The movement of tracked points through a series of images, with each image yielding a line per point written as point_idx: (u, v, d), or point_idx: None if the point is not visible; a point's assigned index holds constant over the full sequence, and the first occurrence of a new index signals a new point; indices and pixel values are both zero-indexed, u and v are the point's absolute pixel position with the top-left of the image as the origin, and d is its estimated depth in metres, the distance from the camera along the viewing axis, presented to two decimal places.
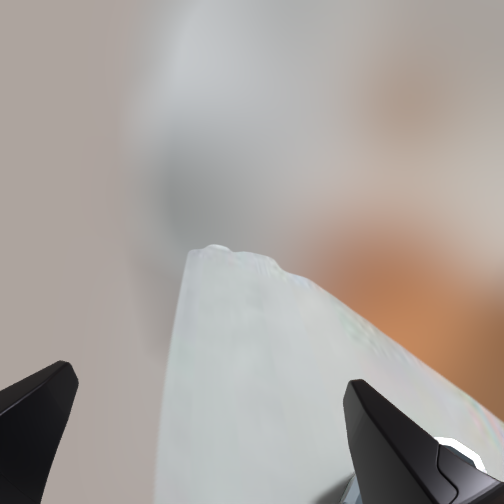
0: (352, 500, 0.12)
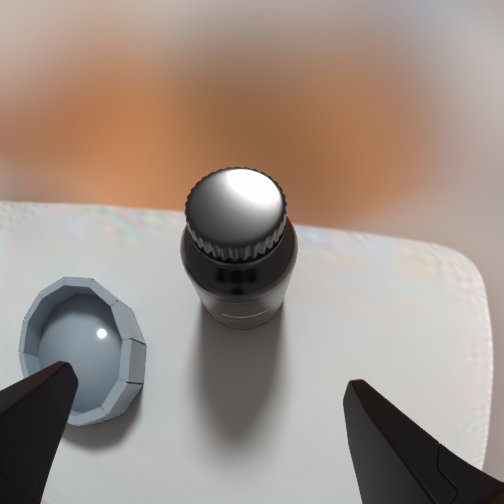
0: None
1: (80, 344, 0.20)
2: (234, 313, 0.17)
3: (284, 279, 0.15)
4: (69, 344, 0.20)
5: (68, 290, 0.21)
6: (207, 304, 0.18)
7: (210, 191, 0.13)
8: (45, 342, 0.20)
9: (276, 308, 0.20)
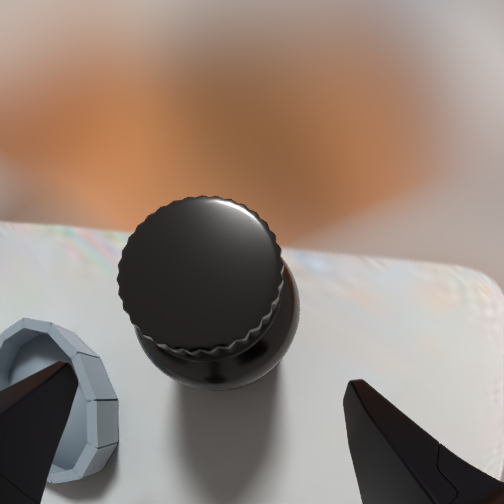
0: None
1: None
2: None
3: (279, 360, 0.10)
4: None
5: (30, 332, 0.16)
6: None
7: (156, 242, 0.08)
8: None
9: None
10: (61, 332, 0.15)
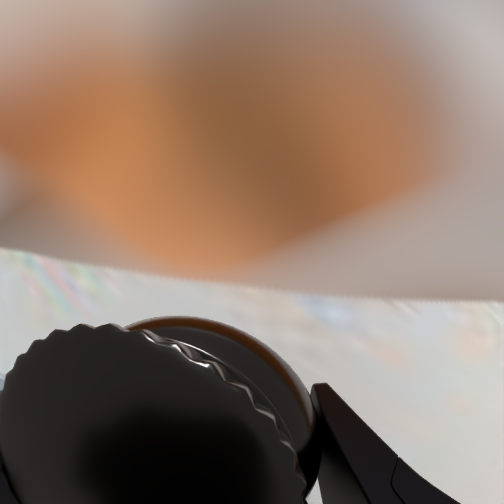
0: None
1: None
2: None
3: None
4: None
5: None
6: None
7: (34, 428, 0.02)
8: None
9: None
10: None
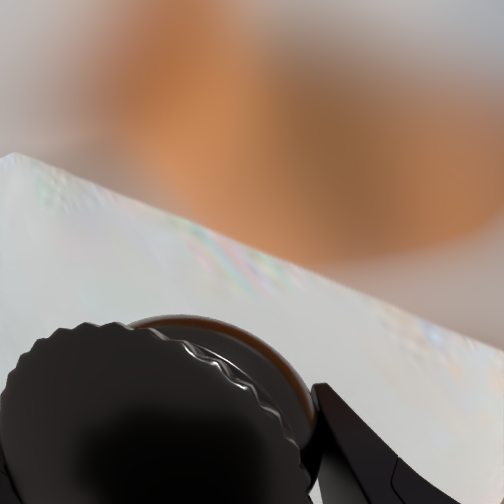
0: None
1: None
2: None
3: None
4: None
5: None
6: None
7: (37, 427, 0.02)
8: None
9: None
10: None
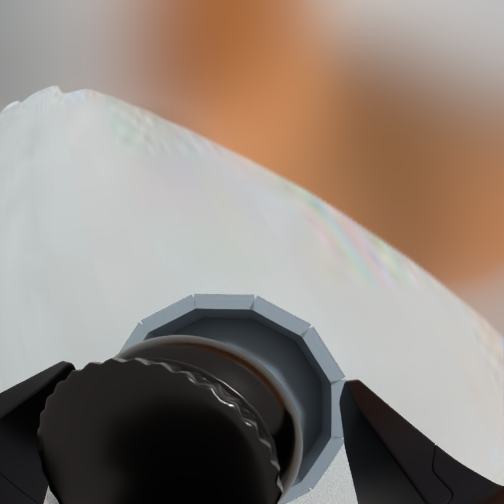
0: None
1: None
2: None
3: None
4: None
5: (247, 314, 0.15)
6: None
7: (76, 438, 0.03)
8: None
9: None
10: None
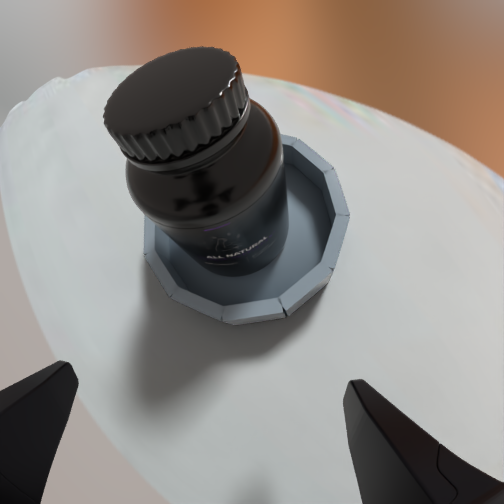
0: (151, 248, 0.17)
1: None
2: (218, 250, 0.12)
3: (270, 177, 0.10)
4: None
5: None
6: (184, 248, 0.13)
7: (134, 84, 0.08)
8: None
9: (280, 236, 0.15)
10: None
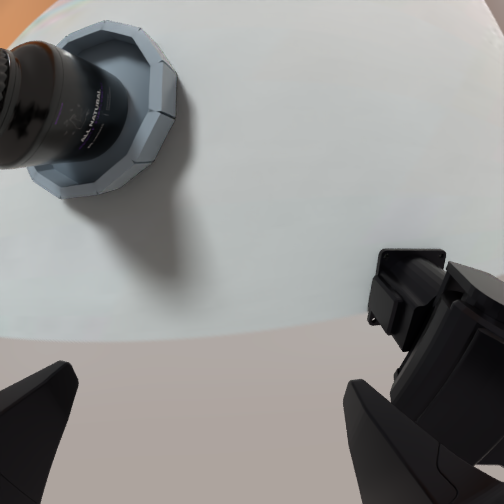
0: (59, 189, 0.15)
1: None
2: (80, 127, 0.11)
3: (57, 60, 0.07)
4: None
5: None
6: (66, 154, 0.12)
7: None
8: None
9: (112, 83, 0.13)
10: None
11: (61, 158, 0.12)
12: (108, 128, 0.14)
